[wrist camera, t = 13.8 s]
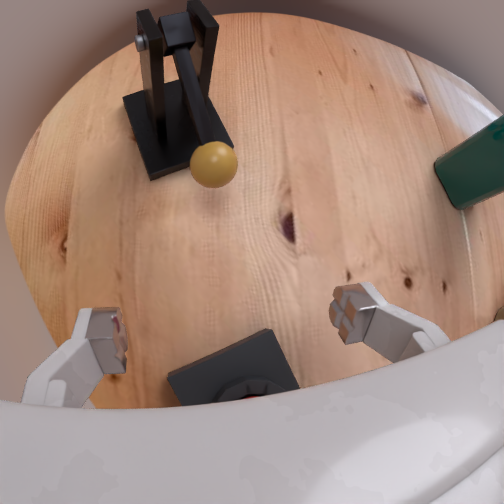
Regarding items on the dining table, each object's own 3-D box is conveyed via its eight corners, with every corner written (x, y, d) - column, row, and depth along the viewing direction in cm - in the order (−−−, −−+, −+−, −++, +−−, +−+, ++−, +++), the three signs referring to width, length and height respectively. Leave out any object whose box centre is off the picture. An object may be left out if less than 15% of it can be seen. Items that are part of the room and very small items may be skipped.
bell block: (313, 427, 27) (330, 441, 23) (226, 471, 24) (232, 491, 20) (265, 328, 28) (277, 330, 24) (168, 372, 25) (165, 382, 22)
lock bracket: (232, 152, 31) (266, 48, 17) (150, 181, 28) (129, 79, 14) (196, 81, 32) (209, -20, 18) (123, 103, 29) (105, 1, 15)
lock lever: (234, 177, 25) (250, 180, 22) (193, 192, 24) (204, 197, 21) (188, 24, 19) (199, 6, 16) (146, 33, 18) (150, 15, 15)
